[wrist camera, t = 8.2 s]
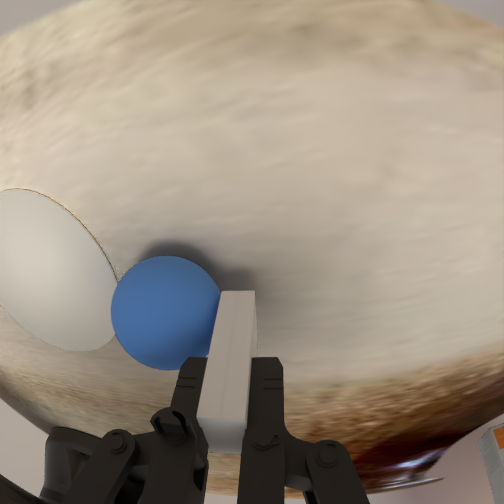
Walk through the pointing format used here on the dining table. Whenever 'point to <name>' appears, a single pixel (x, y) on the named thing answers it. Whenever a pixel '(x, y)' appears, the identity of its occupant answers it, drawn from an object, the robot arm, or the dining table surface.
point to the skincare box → (494, 460)
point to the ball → (165, 311)
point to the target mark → (53, 273)
